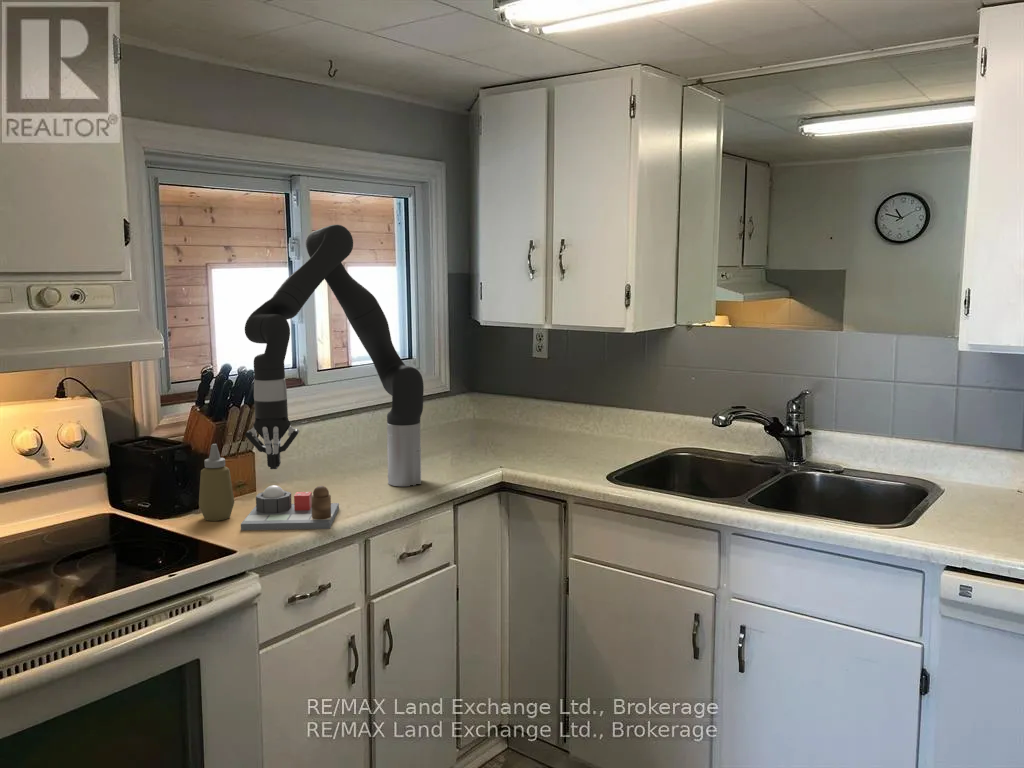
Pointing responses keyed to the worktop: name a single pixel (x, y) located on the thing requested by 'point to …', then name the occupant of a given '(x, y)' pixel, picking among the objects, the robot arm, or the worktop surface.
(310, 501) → the red die
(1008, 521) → the worktop surface
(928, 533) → the worktop surface
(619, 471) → the worktop surface
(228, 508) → the squeeze bottle
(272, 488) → the dome
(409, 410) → the robot arm
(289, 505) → the board
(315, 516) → the cylinder
